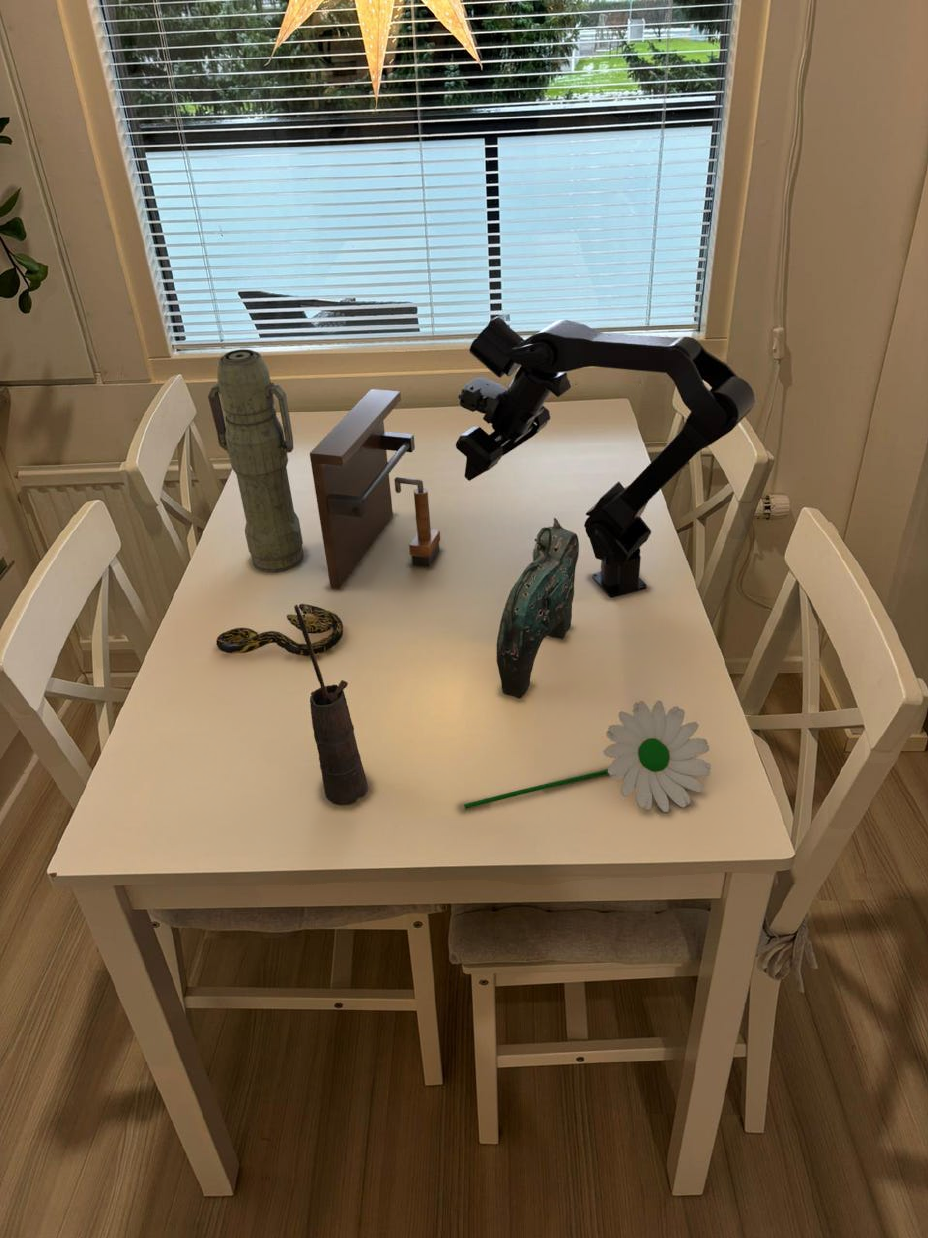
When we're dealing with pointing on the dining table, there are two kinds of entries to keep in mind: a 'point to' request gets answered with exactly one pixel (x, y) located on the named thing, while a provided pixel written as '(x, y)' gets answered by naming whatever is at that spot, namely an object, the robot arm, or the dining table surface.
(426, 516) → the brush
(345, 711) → the butter churn
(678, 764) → the flower
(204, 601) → the dining table surface
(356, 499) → the wall shelf
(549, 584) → the dark green arched piece
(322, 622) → the toy snake
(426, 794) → the dining table surface
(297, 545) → the thermos
